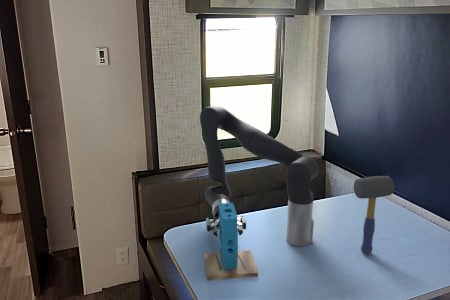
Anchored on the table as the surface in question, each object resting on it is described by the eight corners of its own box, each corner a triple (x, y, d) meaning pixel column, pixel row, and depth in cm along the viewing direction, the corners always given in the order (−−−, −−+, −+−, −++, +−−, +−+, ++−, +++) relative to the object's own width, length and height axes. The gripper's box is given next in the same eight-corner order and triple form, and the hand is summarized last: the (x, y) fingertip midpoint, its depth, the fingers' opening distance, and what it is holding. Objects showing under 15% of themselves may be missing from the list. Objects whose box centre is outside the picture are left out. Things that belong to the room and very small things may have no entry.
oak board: (250, 253, 159) (250, 250, 159) (258, 276, 146) (258, 272, 146) (204, 257, 157) (204, 253, 157) (207, 280, 144) (207, 276, 144)
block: (238, 271, 146) (238, 218, 140) (223, 273, 145) (222, 219, 139) (233, 252, 157) (232, 202, 151) (219, 253, 157) (218, 203, 150)
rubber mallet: (375, 245, 164) (384, 171, 155) (387, 256, 157) (397, 179, 148) (345, 250, 162) (352, 174, 152) (356, 261, 155) (364, 182, 145)
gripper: (203, 204, 161) (207, 225, 146) (241, 202, 163) (249, 222, 148) (204, 222, 164) (207, 244, 148) (241, 220, 165) (249, 242, 150)
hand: (228, 233), depth 148 cm, fingers open, 8 cm apart
